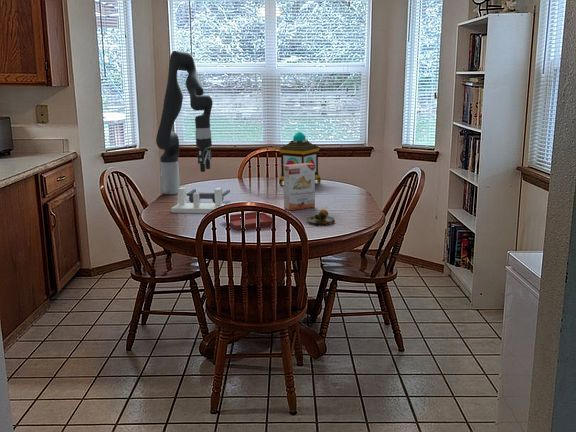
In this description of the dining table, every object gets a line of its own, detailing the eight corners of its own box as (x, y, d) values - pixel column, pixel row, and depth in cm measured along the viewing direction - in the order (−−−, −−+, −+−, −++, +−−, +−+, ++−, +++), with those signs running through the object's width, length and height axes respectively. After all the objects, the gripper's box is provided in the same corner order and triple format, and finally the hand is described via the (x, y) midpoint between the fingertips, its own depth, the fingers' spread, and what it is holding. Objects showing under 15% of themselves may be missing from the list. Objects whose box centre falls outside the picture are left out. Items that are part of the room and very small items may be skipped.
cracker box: (289, 211, 273) (288, 166, 268) (283, 208, 278) (282, 164, 273) (315, 207, 279) (315, 163, 274) (309, 205, 284) (309, 162, 279)
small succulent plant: (310, 219, 259) (310, 202, 257) (337, 220, 256) (337, 203, 254) (303, 225, 248) (303, 208, 246) (331, 227, 244) (331, 209, 243)
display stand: (171, 212, 275) (169, 191, 273) (180, 206, 287) (178, 186, 284) (218, 213, 271) (217, 192, 269) (225, 207, 283) (225, 187, 280)
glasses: (187, 203, 294) (186, 193, 292) (194, 198, 304) (193, 189, 303) (224, 204, 290) (223, 194, 289) (230, 199, 301) (229, 189, 300)
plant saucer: (235, 232, 239) (235, 224, 239) (222, 222, 256) (221, 215, 255) (276, 227, 246) (276, 219, 246) (261, 218, 263) (261, 210, 262)
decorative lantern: (295, 180, 351) (295, 129, 344) (324, 183, 340) (323, 130, 333) (275, 185, 335) (274, 132, 328) (304, 189, 324) (303, 134, 317)
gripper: (200, 135, 293) (202, 168, 297) (191, 138, 280) (193, 172, 284) (215, 135, 292) (216, 168, 296) (206, 138, 279) (208, 172, 282)
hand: (205, 170), depth 290 cm, fingers open, 8 cm apart
